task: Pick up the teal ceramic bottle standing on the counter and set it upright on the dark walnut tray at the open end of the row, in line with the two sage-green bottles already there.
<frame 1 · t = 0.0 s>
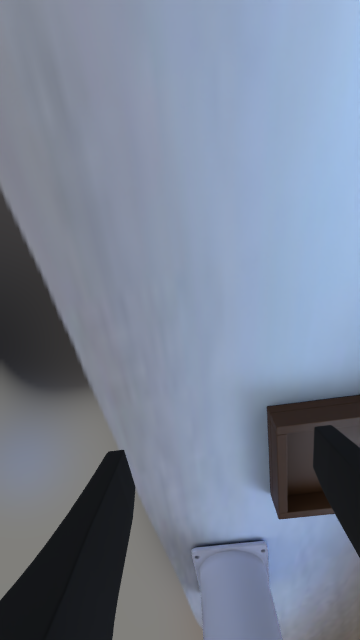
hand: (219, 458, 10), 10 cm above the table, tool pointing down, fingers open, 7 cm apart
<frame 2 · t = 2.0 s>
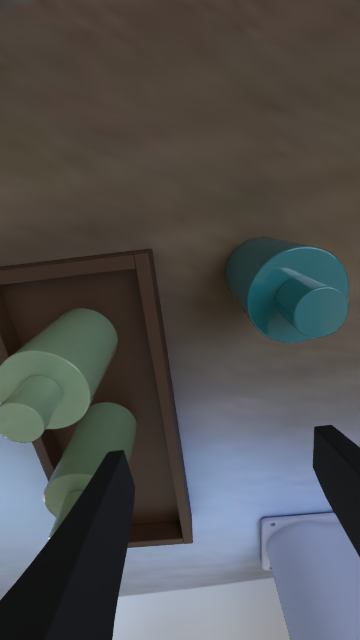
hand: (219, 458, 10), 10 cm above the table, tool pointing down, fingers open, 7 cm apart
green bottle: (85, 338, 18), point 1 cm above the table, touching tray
teal bottle: (258, 272, 17), on the table
tray: (111, 417, 21), on the table
green bottle middle: (108, 424, 20), point 1 cm above the table, touching tray
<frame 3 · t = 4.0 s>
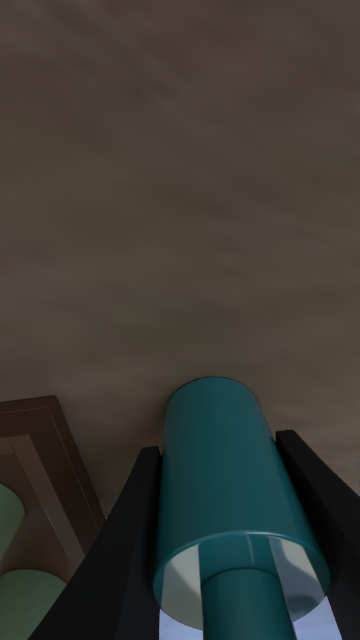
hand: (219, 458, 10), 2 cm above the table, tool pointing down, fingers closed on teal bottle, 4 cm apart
teal bottle: (212, 417, 12), on the table, touching gripper
tray: (40, 573, 16), on the table
green bottle middle: (33, 589, 16), point 1 cm above the table, touching tray
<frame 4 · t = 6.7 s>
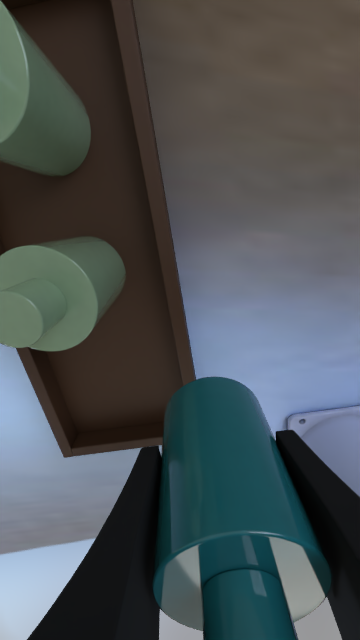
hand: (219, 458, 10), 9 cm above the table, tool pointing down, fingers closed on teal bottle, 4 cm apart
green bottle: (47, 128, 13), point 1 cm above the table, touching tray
teal bottle: (212, 417, 12), point 7 cm above the table, touching gripper
tray: (93, 270, 17), on the table
green bottle middle: (89, 273, 16), point 1 cm above the table, touching tray
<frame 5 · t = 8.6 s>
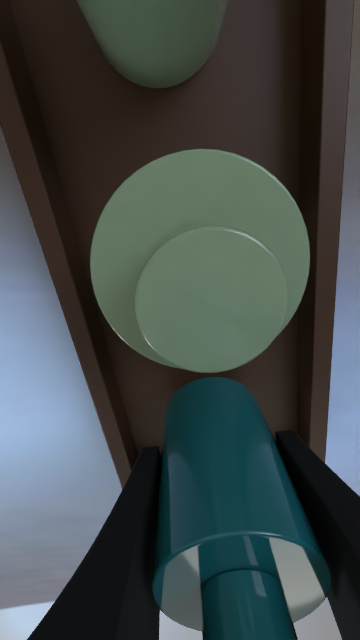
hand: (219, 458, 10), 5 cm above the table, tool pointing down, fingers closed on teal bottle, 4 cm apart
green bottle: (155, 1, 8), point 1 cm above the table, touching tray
teal bottle: (212, 417, 12), point 2 cm above the table, touching gripper
tray: (188, 245, 12), on the table
green bottle middle: (189, 246, 11), point 1 cm above the table, touching tray
when the fingers open (3 cm above the table, at t = 9.6 s): teal bottle stays where it is, resting on tray.
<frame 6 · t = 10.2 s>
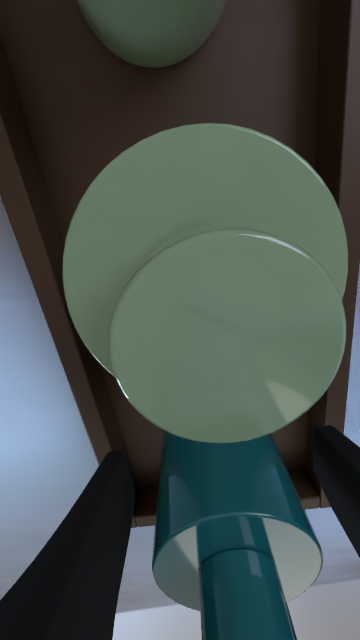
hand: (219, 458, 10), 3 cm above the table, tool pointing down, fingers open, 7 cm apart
teal bottle: (210, 411, 12), point 1 cm above the table, touching tray
tray: (188, 247, 10), on the table
green bottle middle: (189, 249, 10), point 1 cm above the table, touching tray
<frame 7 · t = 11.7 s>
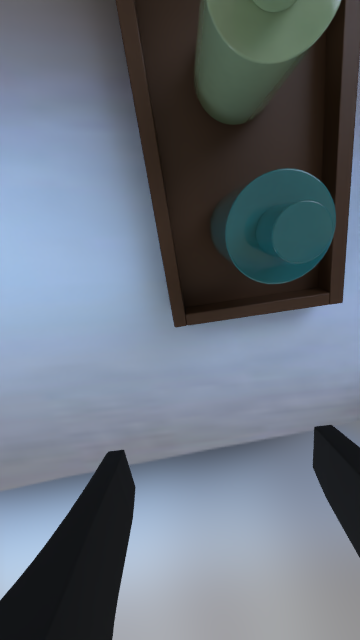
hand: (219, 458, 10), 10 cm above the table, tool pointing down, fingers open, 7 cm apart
teal bottle: (245, 226, 16), point 1 cm above the table, touching tray
tray: (233, 81, 14), on the table
green bottle middle: (236, 73, 13), point 1 cm above the table, touching tray
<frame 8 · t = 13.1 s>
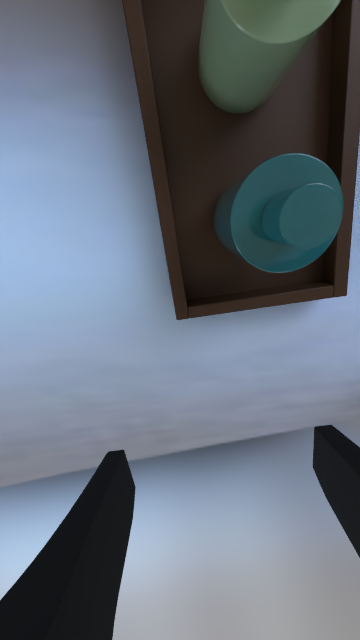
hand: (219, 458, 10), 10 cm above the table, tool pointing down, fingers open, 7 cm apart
teal bottle: (248, 218, 16), point 1 cm above the table, touching tray
tray: (237, 69, 14), on the table
green bottle middle: (241, 60, 13), point 1 cm above the table, touching tray
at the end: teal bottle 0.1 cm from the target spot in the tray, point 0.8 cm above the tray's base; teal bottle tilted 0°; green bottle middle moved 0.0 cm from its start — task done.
